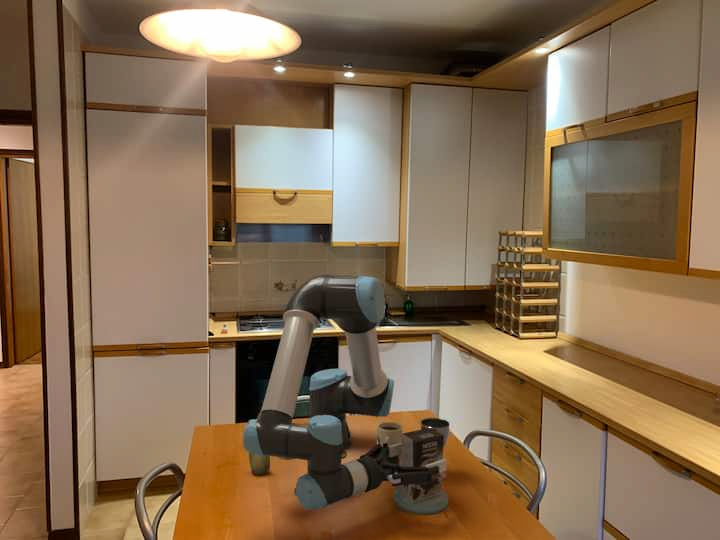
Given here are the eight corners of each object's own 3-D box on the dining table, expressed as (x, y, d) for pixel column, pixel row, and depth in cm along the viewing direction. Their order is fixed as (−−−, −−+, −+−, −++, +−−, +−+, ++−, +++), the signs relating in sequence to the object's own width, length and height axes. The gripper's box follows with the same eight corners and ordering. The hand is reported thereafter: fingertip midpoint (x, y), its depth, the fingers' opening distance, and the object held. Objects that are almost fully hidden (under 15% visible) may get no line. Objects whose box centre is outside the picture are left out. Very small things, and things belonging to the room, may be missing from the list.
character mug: (379, 460, 166) (380, 418, 165) (403, 463, 165) (404, 420, 164) (372, 477, 156) (373, 431, 154) (398, 480, 154) (399, 434, 153)
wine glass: (446, 482, 154) (448, 429, 152) (417, 478, 155) (419, 426, 154) (448, 469, 161) (450, 419, 160) (420, 466, 163) (422, 416, 162)
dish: (382, 496, 145) (382, 491, 145) (422, 482, 153) (422, 477, 153) (418, 520, 134) (419, 515, 134) (460, 503, 142) (460, 498, 142)
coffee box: (413, 504, 138) (415, 441, 137) (398, 493, 144) (400, 432, 142) (442, 496, 143) (444, 435, 141) (427, 485, 148) (429, 426, 147)
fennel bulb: (246, 472, 157) (246, 430, 156) (260, 466, 161) (260, 426, 160) (259, 478, 153) (259, 436, 152) (273, 473, 157) (273, 431, 156)
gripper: (329, 472, 141) (394, 452, 153) (393, 515, 121) (461, 488, 133) (330, 443, 140) (394, 425, 153) (394, 481, 120) (463, 458, 133)
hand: (426, 455), depth 143 cm, fingers open, 13 cm apart
